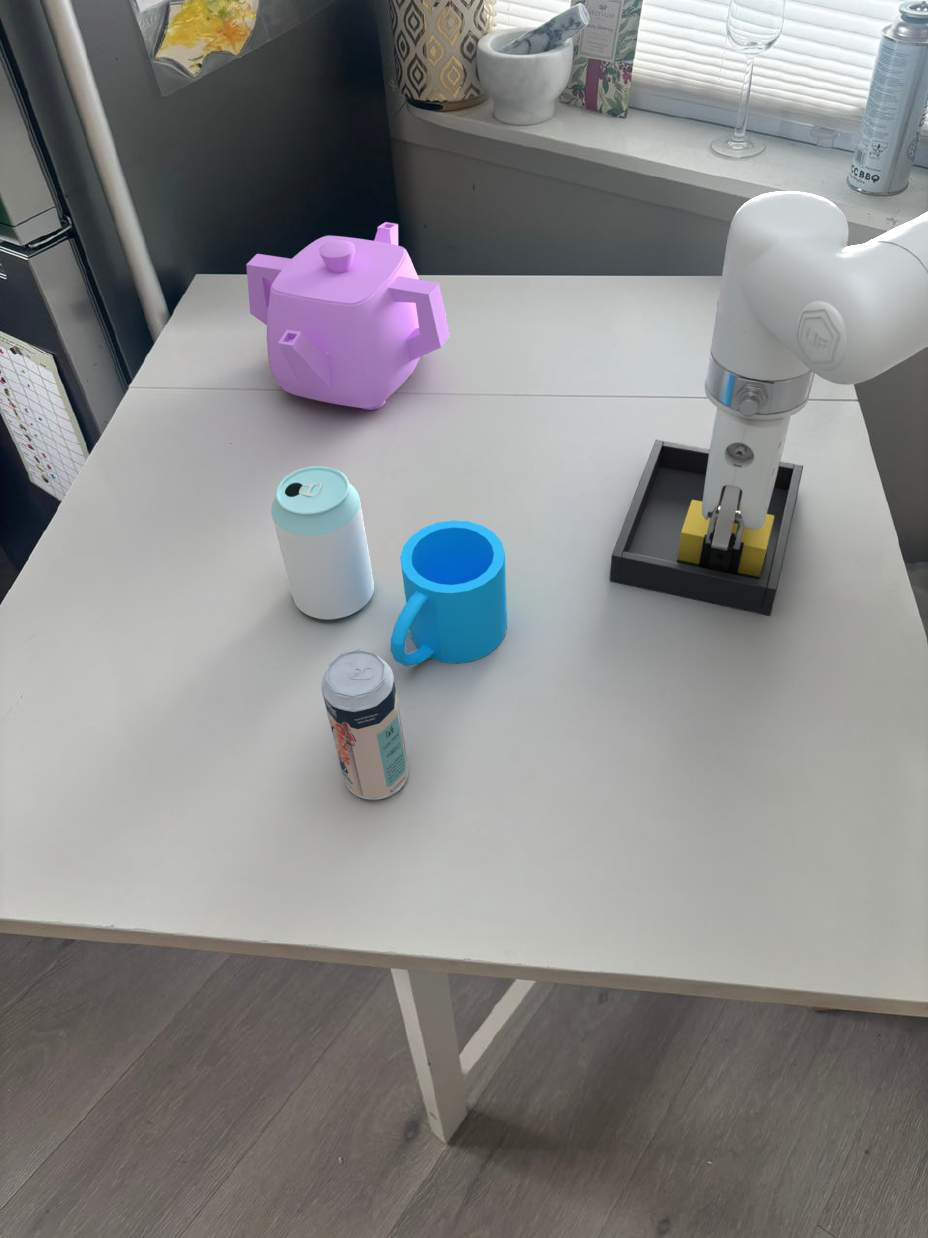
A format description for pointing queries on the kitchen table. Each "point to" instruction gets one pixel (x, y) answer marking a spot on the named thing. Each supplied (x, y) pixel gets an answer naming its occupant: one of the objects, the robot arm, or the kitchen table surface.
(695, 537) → the sponge
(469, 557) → the mug
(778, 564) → the tray
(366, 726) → the beer can
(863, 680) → the kitchen table surface
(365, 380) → the teapot
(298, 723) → the kitchen table surface
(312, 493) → the can
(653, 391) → the kitchen table surface
